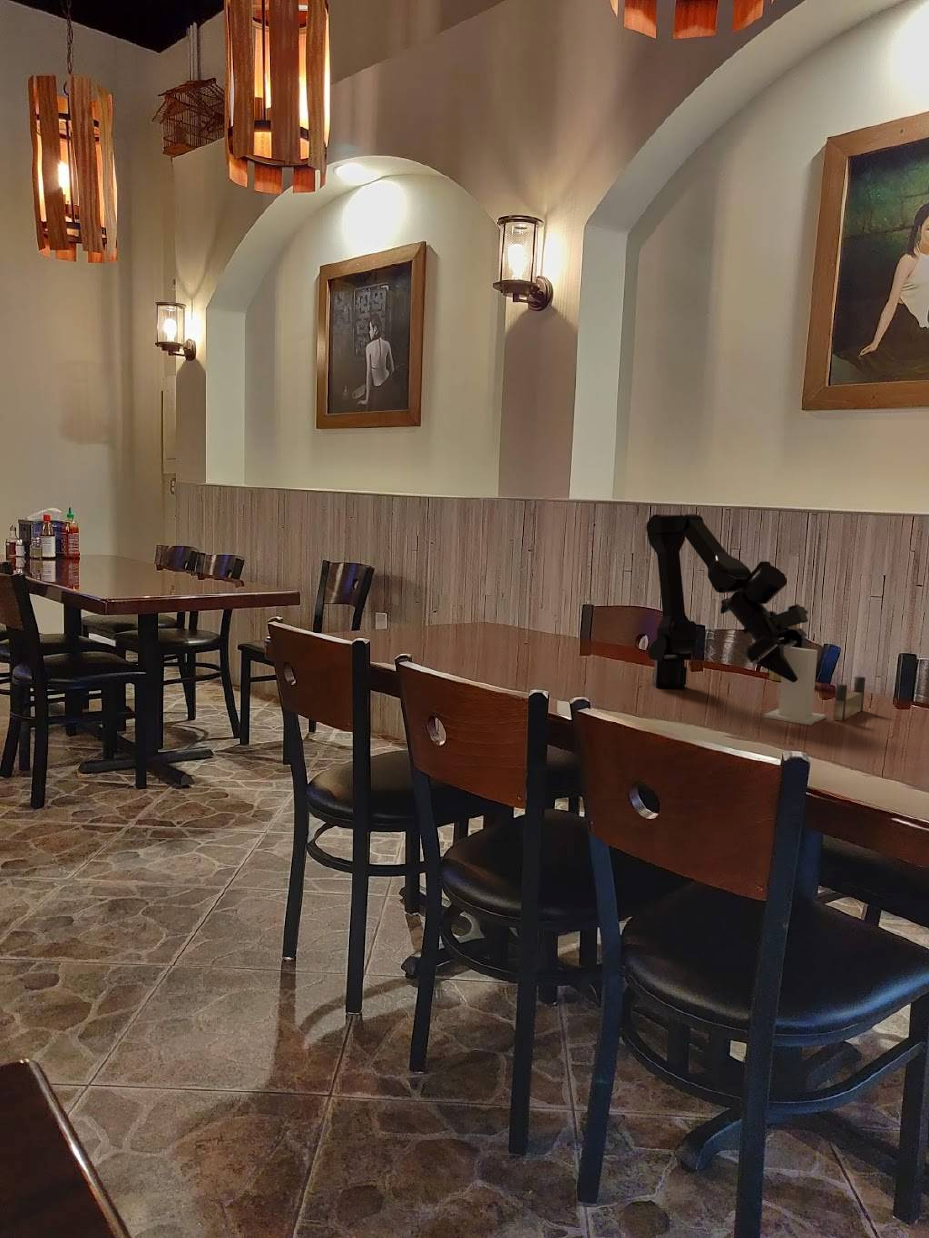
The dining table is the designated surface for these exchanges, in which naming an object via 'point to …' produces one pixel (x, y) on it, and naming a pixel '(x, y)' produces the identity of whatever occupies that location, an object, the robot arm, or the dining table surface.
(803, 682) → the beige tall rectangular block
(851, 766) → the dining table surface
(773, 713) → the coaster
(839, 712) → the rack
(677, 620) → the robot arm
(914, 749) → the dining table surface
